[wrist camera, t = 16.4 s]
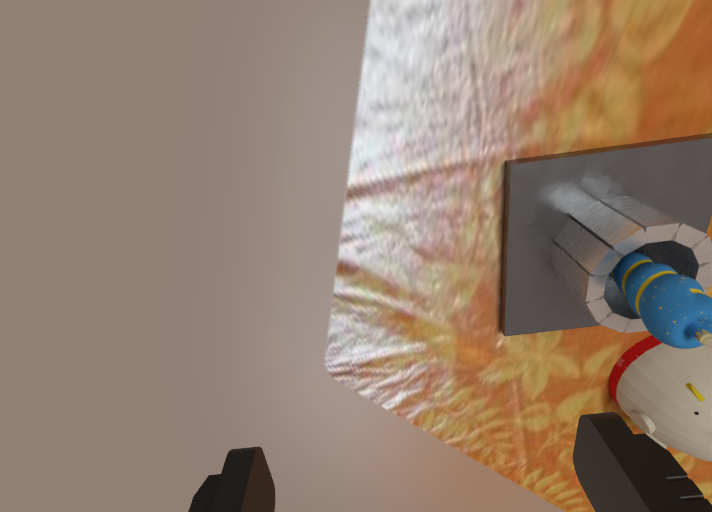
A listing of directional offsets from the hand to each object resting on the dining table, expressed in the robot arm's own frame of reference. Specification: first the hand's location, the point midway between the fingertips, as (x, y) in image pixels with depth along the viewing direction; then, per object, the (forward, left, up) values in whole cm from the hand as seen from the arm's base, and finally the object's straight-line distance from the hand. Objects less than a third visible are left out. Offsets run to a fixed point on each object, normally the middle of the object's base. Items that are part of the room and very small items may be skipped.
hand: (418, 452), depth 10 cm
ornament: (+12, +23, -31) cm, 40 cm away
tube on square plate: (+12, +23, -32) cm, 41 cm away
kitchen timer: (+32, +34, -32) cm, 57 cm away
